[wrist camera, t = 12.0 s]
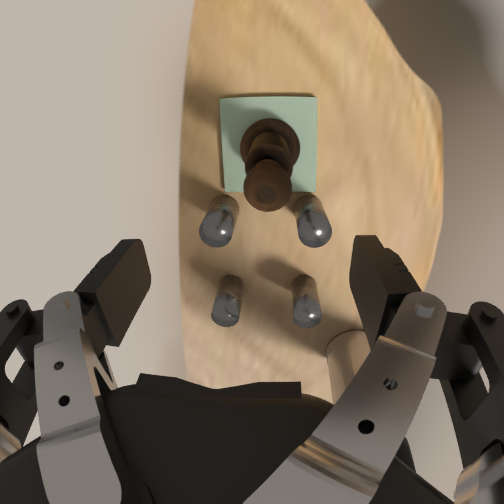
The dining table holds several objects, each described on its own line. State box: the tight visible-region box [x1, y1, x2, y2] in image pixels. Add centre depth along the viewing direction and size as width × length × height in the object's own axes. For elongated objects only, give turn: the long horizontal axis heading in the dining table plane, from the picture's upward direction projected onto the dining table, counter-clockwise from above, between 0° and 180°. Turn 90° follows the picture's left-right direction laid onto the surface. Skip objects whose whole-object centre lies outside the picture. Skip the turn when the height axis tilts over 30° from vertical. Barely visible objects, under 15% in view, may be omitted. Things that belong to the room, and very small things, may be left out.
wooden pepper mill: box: [240, 118, 300, 212], centre depth 25 cm, size 7×6×18 cm
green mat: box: [219, 96, 317, 192], centre depth 33 cm, size 11×12×1 cm
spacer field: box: [199, 195, 332, 328], centre depth 37 cm, size 14×16×7 cm
